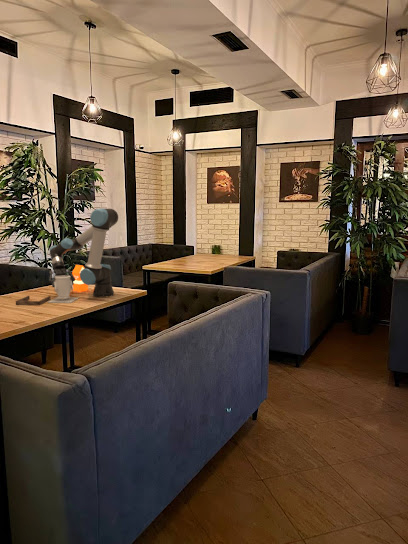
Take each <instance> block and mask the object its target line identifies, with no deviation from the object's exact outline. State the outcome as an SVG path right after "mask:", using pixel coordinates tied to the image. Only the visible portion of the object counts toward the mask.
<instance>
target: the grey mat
mask: <svg viewBox="0 0 408 544" xmlns="http://www.w3.org/2000/svg"><path fill="white" fill-rule="evenodd" d="M57 297H58V296H57ZM57 297H55V298H52V299H51V300H49V301H47V303H48V304H49V303H50V304H72V303H73V302H76V301H77V300H78V299H80V297H75V296H74V297H72V296H70V297H69V298H65V299H59V298H57Z"/></svg>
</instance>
